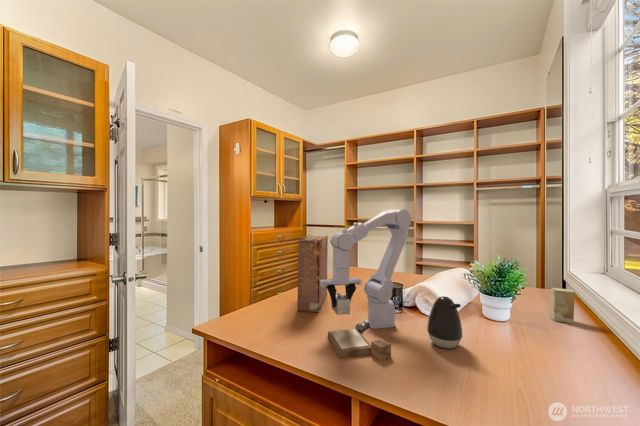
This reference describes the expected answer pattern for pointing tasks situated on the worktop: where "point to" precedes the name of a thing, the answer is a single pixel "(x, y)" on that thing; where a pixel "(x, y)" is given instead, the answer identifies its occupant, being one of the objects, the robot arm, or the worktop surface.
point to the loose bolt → (362, 326)
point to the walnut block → (381, 349)
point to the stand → (349, 343)
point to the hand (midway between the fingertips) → (340, 306)
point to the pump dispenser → (445, 323)
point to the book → (312, 272)
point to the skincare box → (562, 305)
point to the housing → (342, 304)
